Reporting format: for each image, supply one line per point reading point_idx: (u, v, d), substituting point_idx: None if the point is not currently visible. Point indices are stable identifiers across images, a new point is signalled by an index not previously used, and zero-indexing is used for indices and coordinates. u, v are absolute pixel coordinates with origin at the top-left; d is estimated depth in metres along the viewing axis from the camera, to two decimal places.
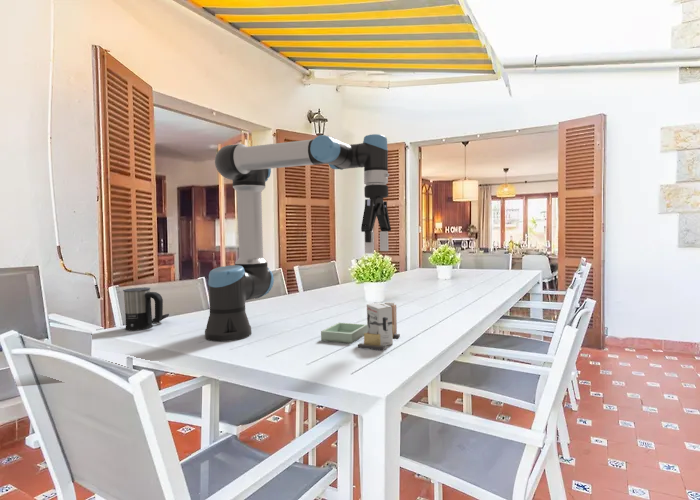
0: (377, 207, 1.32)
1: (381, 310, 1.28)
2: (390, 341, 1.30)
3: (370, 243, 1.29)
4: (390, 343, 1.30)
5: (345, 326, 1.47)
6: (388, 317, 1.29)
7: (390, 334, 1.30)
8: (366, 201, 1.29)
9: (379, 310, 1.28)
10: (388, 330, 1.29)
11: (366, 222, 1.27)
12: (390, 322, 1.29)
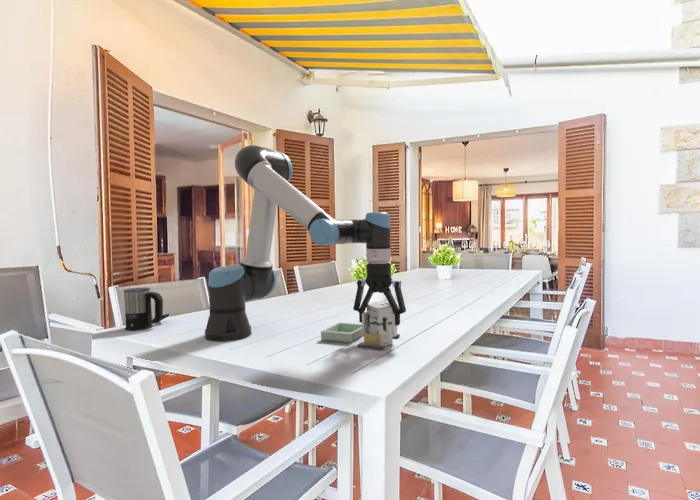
0: (369, 286, 1.32)
1: (381, 310, 1.28)
2: (390, 341, 1.30)
3: None
4: (390, 343, 1.30)
5: (345, 326, 1.47)
6: (388, 317, 1.29)
7: (390, 334, 1.30)
8: None
9: (379, 310, 1.28)
10: (388, 330, 1.29)
11: None
12: (390, 322, 1.29)
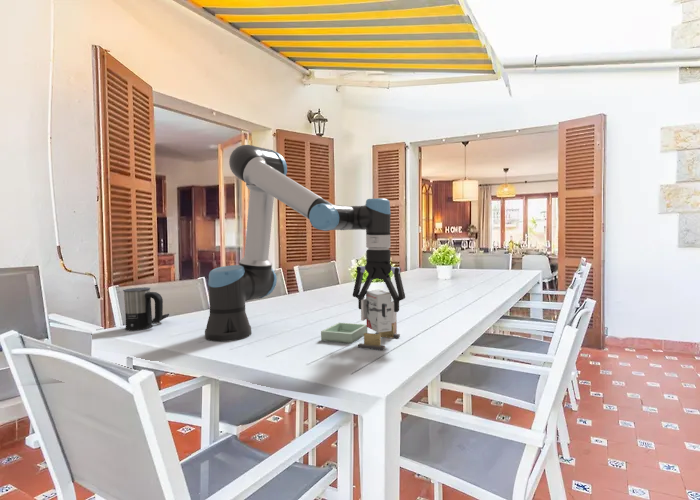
0: (369, 273, 1.32)
1: (380, 296, 1.28)
2: (389, 327, 1.30)
3: None
4: (389, 329, 1.30)
5: (345, 326, 1.47)
6: (387, 303, 1.29)
7: (389, 320, 1.30)
8: None
9: (378, 296, 1.28)
10: (387, 316, 1.29)
11: None
12: (389, 308, 1.29)
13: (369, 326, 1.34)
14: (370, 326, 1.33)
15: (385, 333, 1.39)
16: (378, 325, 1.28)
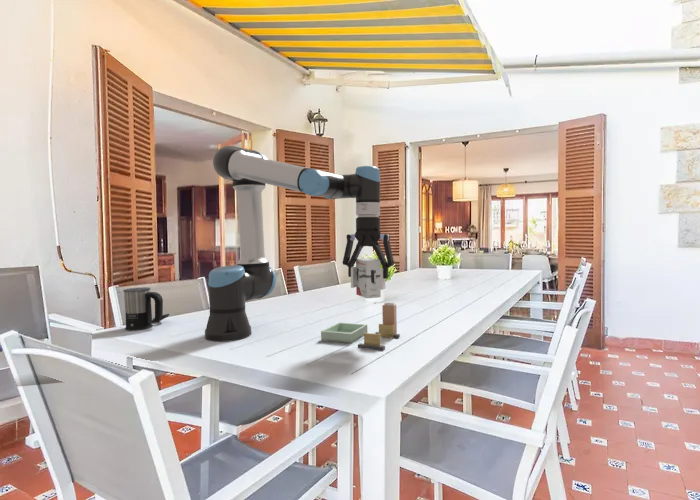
0: (358, 240, 1.33)
1: (369, 262, 1.30)
2: (378, 294, 1.31)
3: None
4: (378, 296, 1.31)
5: (345, 326, 1.47)
6: (377, 270, 1.31)
7: (378, 287, 1.31)
8: None
9: (367, 262, 1.29)
10: (376, 282, 1.31)
11: None
12: (378, 275, 1.31)
13: (359, 293, 1.35)
14: (360, 293, 1.34)
15: (385, 333, 1.39)
16: (367, 291, 1.30)
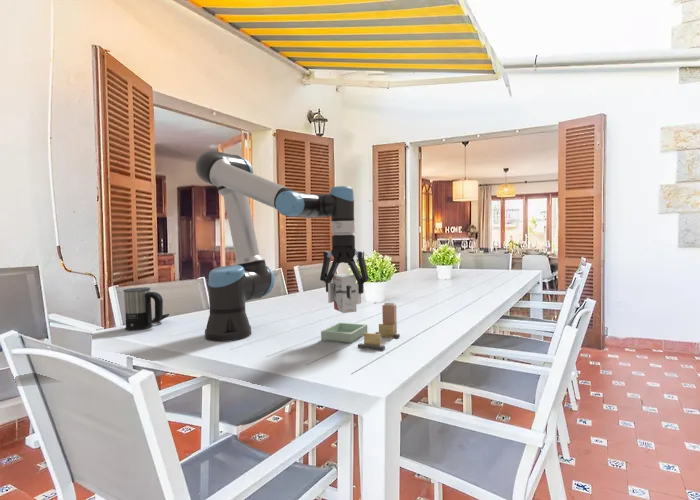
0: (334, 257, 1.39)
1: (345, 278, 1.35)
2: (354, 308, 1.37)
3: None
4: (354, 310, 1.37)
5: (345, 326, 1.47)
6: (352, 285, 1.36)
7: (354, 302, 1.37)
8: None
9: (343, 278, 1.35)
10: (352, 297, 1.36)
11: None
12: (354, 290, 1.36)
13: (336, 308, 1.41)
14: (337, 308, 1.40)
15: (385, 333, 1.39)
16: (343, 306, 1.35)
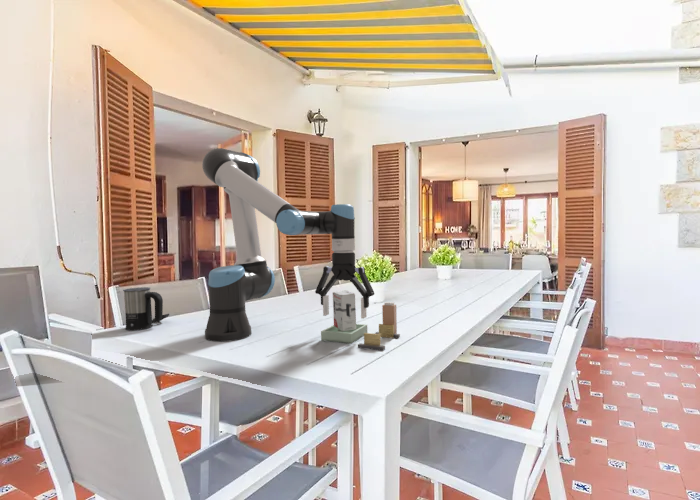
0: (334, 274, 1.39)
1: (344, 297, 1.35)
2: (353, 326, 1.37)
3: None
4: (353, 328, 1.37)
5: None
6: (352, 303, 1.36)
7: (353, 319, 1.37)
8: None
9: (342, 297, 1.35)
10: (351, 315, 1.37)
11: None
12: (353, 308, 1.37)
13: (336, 325, 1.41)
14: (337, 325, 1.40)
15: (385, 333, 1.39)
16: (343, 324, 1.36)
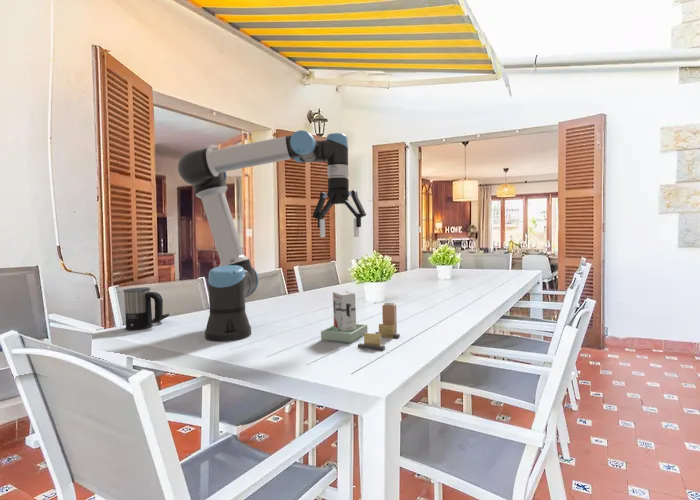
0: (329, 198, 1.54)
1: (345, 297, 1.35)
2: (353, 326, 1.37)
3: None
4: (353, 328, 1.37)
5: None
6: (352, 303, 1.36)
7: (353, 319, 1.37)
8: None
9: (343, 297, 1.35)
10: (351, 315, 1.37)
11: None
12: (353, 308, 1.37)
13: (336, 325, 1.41)
14: (337, 325, 1.40)
15: (385, 333, 1.39)
16: (343, 324, 1.36)
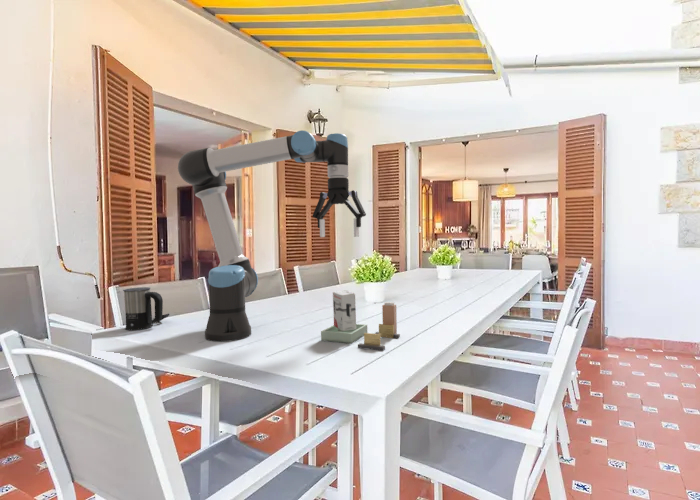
0: (329, 198, 1.54)
1: (344, 297, 1.35)
2: (353, 326, 1.37)
3: None
4: (353, 328, 1.37)
5: None
6: (352, 303, 1.36)
7: (353, 319, 1.37)
8: None
9: (343, 297, 1.35)
10: (351, 315, 1.37)
11: None
12: (353, 308, 1.37)
13: (336, 325, 1.41)
14: (337, 325, 1.40)
15: (385, 333, 1.39)
16: (343, 324, 1.36)
